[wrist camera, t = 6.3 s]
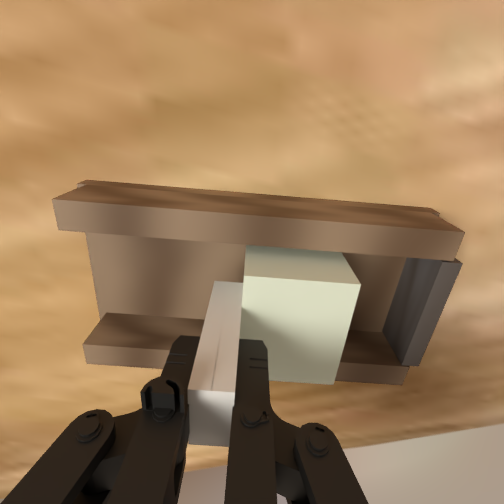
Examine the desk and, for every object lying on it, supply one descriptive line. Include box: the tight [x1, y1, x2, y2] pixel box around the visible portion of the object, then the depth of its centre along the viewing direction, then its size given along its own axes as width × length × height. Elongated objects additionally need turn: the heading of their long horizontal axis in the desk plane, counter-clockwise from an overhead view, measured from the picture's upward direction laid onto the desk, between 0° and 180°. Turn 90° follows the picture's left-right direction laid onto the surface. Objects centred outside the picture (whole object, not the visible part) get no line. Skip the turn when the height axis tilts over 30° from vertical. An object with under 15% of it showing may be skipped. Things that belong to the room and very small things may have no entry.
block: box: [239, 245, 361, 385], centre depth 16 cm, size 5×6×5 cm
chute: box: [52, 180, 465, 385], centre depth 18 cm, size 20×10×4 cm, turn 85°
